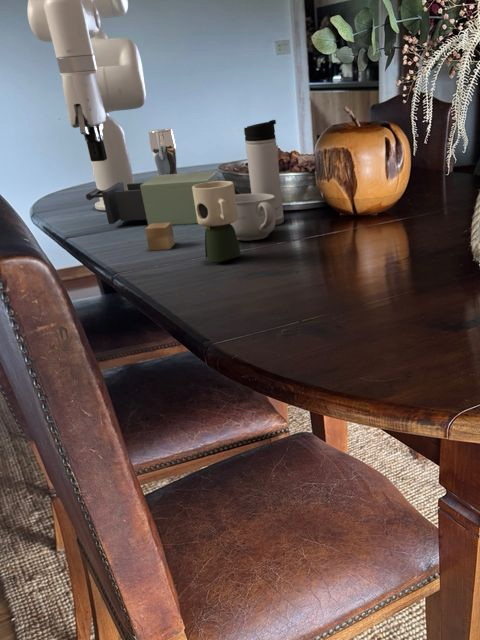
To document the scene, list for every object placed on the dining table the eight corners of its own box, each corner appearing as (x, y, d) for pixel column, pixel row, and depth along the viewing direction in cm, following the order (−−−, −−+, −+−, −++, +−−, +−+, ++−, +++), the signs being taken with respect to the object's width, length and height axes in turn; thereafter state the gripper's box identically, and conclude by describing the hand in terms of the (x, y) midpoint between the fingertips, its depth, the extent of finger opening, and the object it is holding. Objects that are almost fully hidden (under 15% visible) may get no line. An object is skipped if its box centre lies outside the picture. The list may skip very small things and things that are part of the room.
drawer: (87, 225, 146) (79, 193, 143) (104, 214, 156) (97, 184, 153) (167, 220, 145) (161, 188, 141) (179, 209, 155) (174, 178, 151)
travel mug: (281, 226, 136) (271, 121, 125) (251, 227, 137) (238, 123, 127) (288, 219, 141) (279, 118, 131) (259, 220, 142) (248, 120, 132)
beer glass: (179, 187, 187) (169, 130, 179) (155, 188, 187) (145, 132, 180) (184, 182, 193) (174, 128, 185) (161, 184, 193) (150, 130, 186)
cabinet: (148, 226, 145) (139, 185, 141) (162, 213, 156) (155, 175, 152) (213, 222, 144) (206, 180, 139) (223, 209, 155) (217, 170, 150)
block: (149, 250, 126) (144, 228, 124) (154, 244, 130) (150, 223, 128) (170, 249, 126) (166, 227, 124) (175, 243, 130) (171, 222, 127)
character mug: (197, 256, 120) (184, 183, 113) (233, 250, 122) (223, 177, 115) (213, 271, 111) (200, 192, 104) (252, 263, 113) (242, 185, 107)
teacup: (218, 236, 132) (212, 195, 128) (268, 227, 135) (264, 187, 131) (238, 251, 121) (232, 207, 117) (292, 241, 124) (288, 198, 120)
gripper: (73, 67, 141) (94, 156, 151) (45, 69, 129) (70, 167, 138) (107, 64, 141) (126, 154, 150) (81, 66, 128) (104, 164, 137)
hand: (99, 160), depth 144 cm, fingers closed
